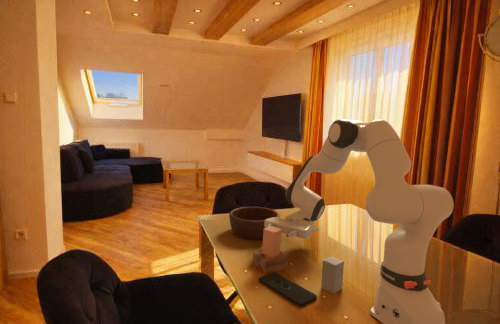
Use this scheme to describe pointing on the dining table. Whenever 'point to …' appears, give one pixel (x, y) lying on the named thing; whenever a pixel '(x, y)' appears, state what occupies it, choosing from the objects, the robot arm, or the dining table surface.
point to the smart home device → (288, 289)
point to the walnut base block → (270, 261)
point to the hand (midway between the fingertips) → (277, 232)
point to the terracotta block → (271, 241)
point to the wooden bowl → (250, 221)
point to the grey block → (332, 274)
